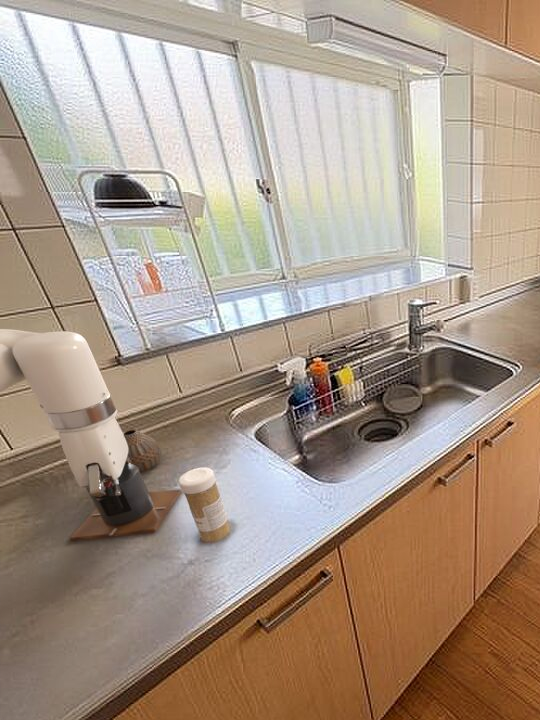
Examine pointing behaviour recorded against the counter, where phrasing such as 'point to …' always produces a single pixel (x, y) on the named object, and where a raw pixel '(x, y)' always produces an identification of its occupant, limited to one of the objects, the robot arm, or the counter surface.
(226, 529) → the sprinkles bottle
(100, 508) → the knob
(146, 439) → the vase
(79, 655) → the counter surface
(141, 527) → the wooden board
